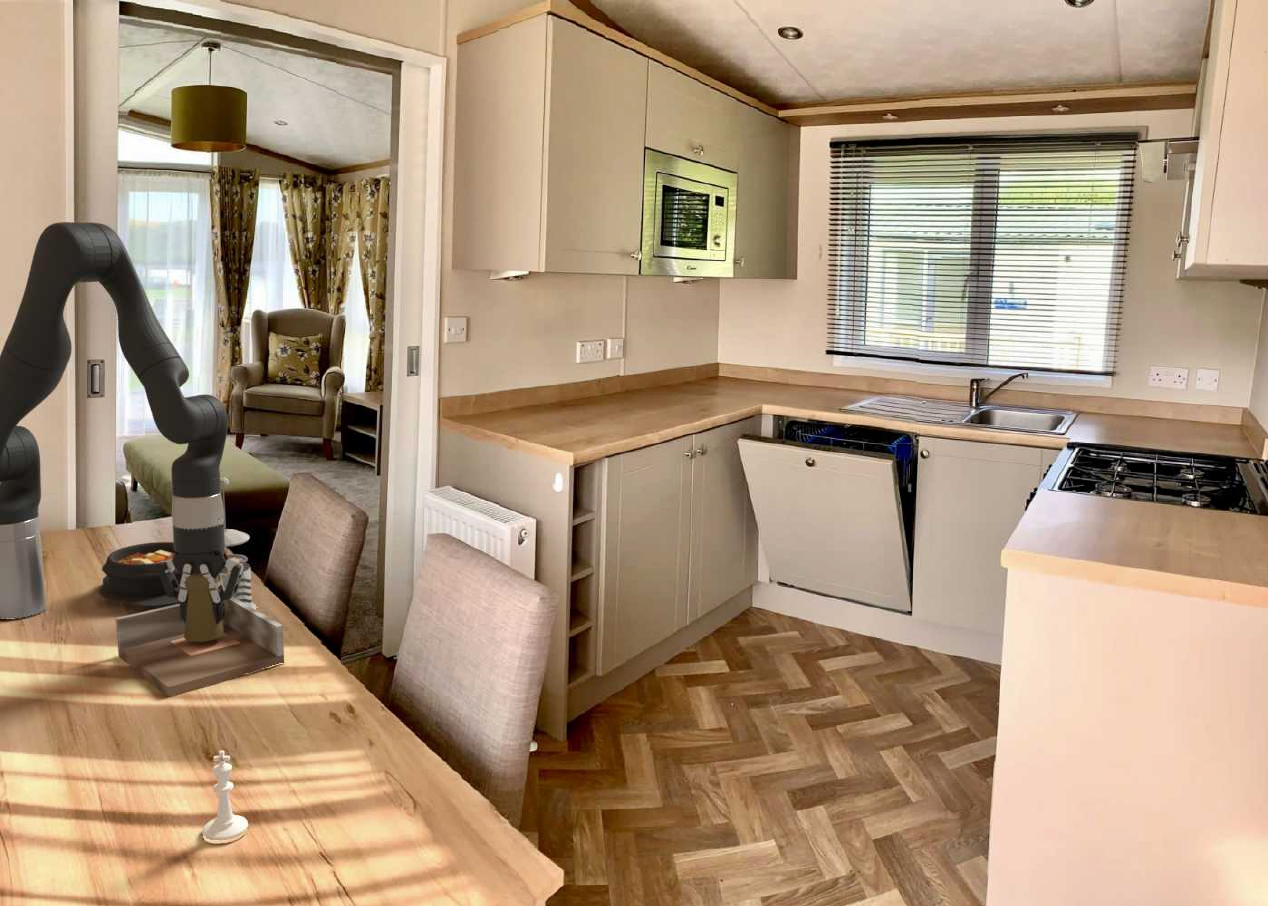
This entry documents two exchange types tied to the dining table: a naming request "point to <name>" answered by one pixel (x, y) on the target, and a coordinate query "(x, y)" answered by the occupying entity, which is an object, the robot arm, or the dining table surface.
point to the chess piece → (224, 805)
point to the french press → (237, 559)
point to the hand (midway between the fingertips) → (203, 621)
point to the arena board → (198, 647)
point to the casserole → (138, 575)
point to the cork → (200, 610)
